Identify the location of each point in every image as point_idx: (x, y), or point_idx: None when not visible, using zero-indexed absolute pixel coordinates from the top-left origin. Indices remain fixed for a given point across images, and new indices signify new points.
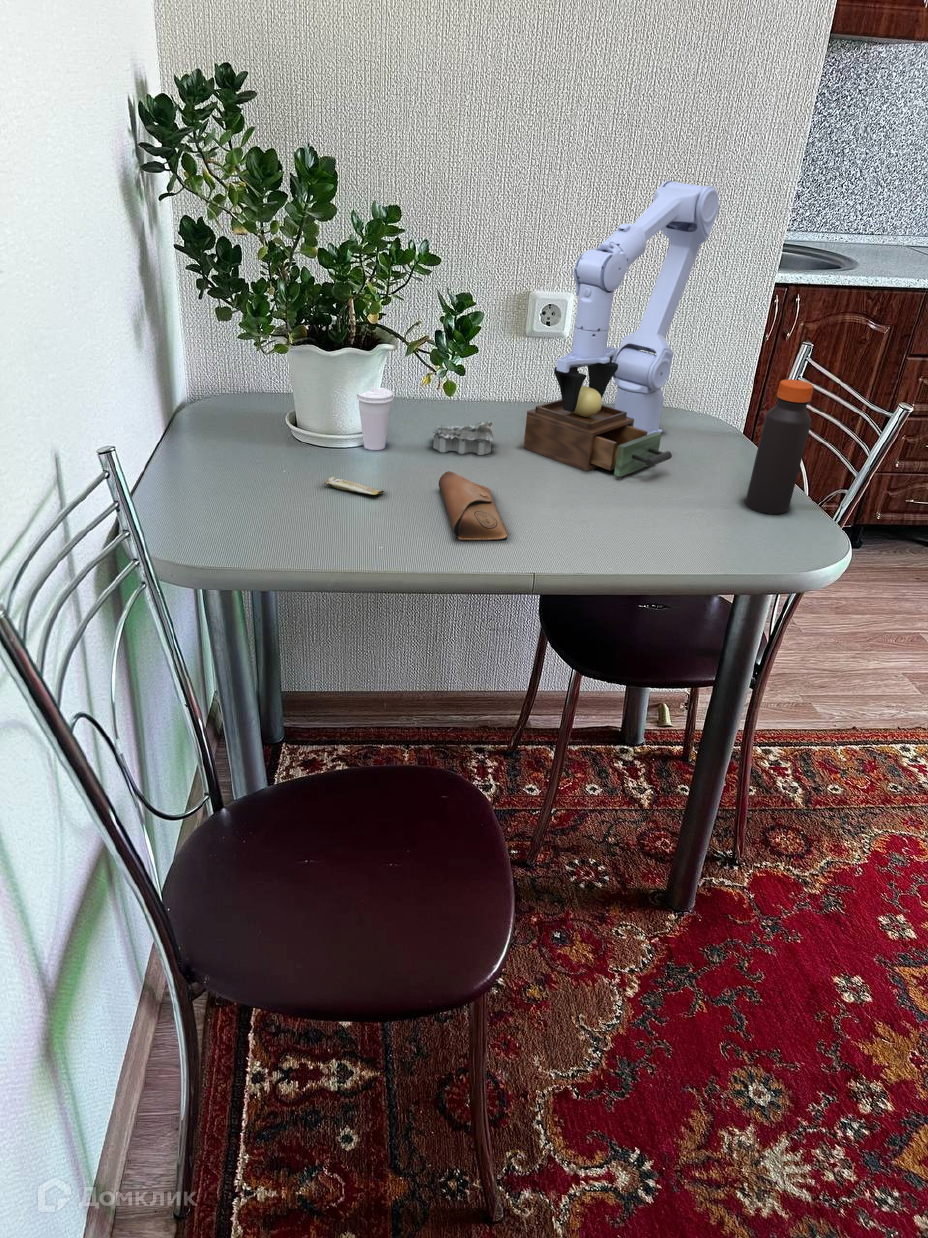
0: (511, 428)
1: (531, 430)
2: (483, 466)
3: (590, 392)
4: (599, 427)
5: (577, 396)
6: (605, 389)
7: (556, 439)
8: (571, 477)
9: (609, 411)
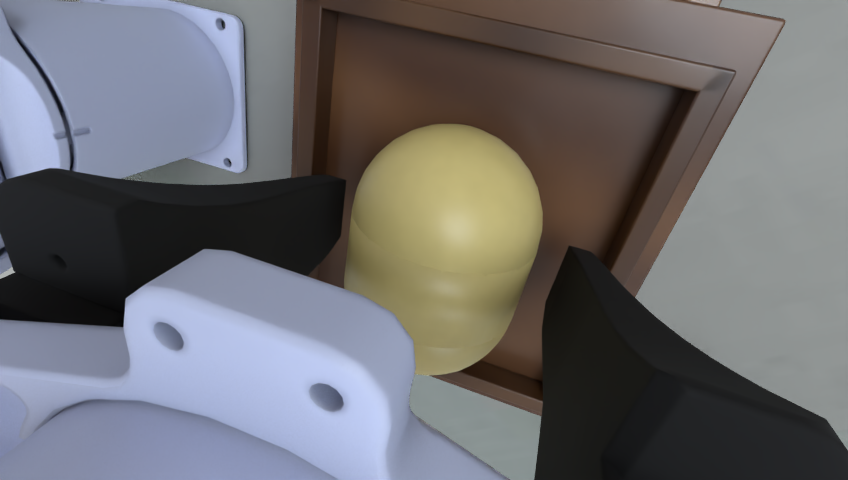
0: (419, 386)
1: None
2: (834, 378)
3: (470, 232)
4: (623, 34)
5: (604, 288)
6: (265, 181)
7: None
8: (818, 55)
9: (325, 106)
